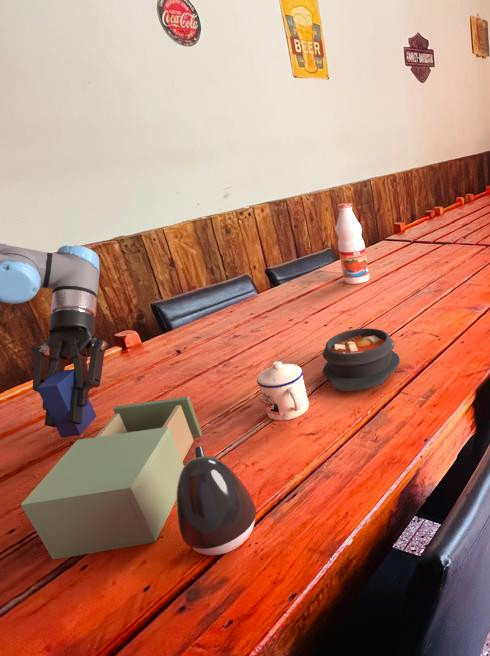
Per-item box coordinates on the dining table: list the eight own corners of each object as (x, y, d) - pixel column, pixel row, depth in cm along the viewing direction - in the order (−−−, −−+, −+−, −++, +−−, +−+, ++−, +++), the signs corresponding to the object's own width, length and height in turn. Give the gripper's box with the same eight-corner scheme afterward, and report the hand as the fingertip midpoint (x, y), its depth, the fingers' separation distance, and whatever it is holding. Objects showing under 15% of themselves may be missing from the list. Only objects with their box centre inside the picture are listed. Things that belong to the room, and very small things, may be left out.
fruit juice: (366, 274, 197) (354, 200, 184) (372, 281, 189) (361, 204, 177) (341, 279, 193) (328, 203, 181) (347, 286, 185) (333, 207, 173)
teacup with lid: (260, 410, 111) (246, 363, 106) (300, 394, 116) (289, 349, 111) (281, 433, 103) (268, 383, 98) (323, 415, 108) (312, 366, 103)
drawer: (140, 431, 104) (125, 394, 100) (208, 422, 106) (195, 385, 102) (97, 494, 88) (76, 452, 84) (178, 481, 90) (161, 439, 86)
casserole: (401, 392, 115) (396, 359, 111) (317, 402, 113) (309, 369, 109) (400, 345, 137) (397, 317, 134) (330, 353, 135) (324, 324, 132)
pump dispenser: (257, 506, 84) (233, 430, 78) (266, 548, 76) (240, 467, 69) (189, 530, 80) (157, 452, 73) (190, 578, 72) (154, 495, 65)
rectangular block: (61, 437, 102) (36, 387, 97) (79, 418, 108) (57, 370, 103) (80, 435, 102) (56, 385, 97) (97, 416, 109) (76, 368, 104)
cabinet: (101, 489, 90) (77, 439, 85) (188, 476, 92) (168, 426, 87) (52, 559, 76) (20, 504, 71) (155, 542, 78) (130, 487, 73)
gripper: (125, 318, 112) (119, 422, 105) (42, 327, 110) (30, 434, 103) (106, 303, 105) (98, 414, 98) (16, 312, 103) (1, 426, 95)
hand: (63, 424), depth 100 cm, fingers closed on rectangular block, 3 cm apart
